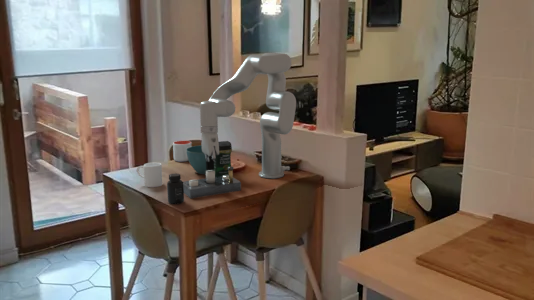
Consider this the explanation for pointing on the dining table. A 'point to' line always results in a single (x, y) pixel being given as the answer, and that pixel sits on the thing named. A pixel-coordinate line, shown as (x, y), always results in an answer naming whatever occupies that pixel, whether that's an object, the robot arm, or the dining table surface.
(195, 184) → the knob far
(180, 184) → the supplement bottle
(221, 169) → the coffee jar
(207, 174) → the knob mid
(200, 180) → the mount
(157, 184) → the mug
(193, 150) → the teal bowl
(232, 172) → the post
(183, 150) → the cup
